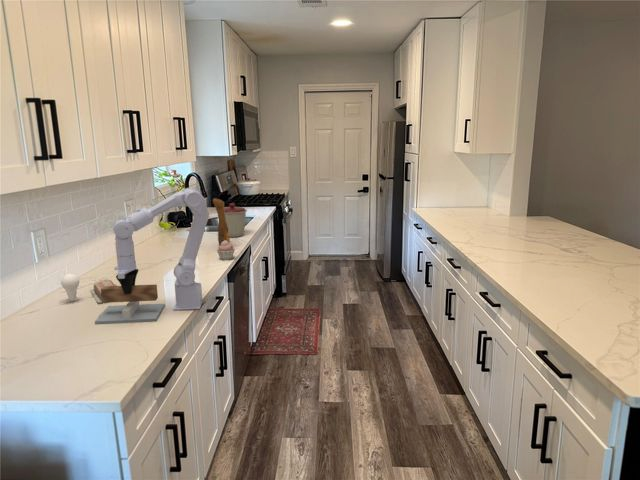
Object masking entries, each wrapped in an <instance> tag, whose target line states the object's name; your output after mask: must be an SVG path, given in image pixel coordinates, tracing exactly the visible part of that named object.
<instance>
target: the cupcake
mask: <svg viewBox="0 0 640 480" xmlns="http://www.w3.org/2000/svg"><path fill="white" fill-rule="evenodd" d="M216 251H217V254H218V256H219V259H220V261H229V260H233V258H234V254H235V251H236V249H235V248H234V246H233V243H231V242H230V243H228V241H226V240H225V241H223V242H222V243H221V245H220V246H219V245H218V249H217V250H216Z"/></svg>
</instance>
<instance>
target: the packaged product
mask: <svg viewBox="0 0 640 480" xmlns="http://www.w3.org/2000/svg"><path fill="white" fill-rule="evenodd" d="M103 286H118V285H117V284H116V283H115V284H114V282H113V281H112V279H104V280H100V281H99V282H95V283H94V284H93V289H89V290H90V293H91V295H92V296H93V298H94V300H95V301H96V303H97V305H98V304H99V305H104V304H103V303H102V297H101V288H102V287H103Z"/></svg>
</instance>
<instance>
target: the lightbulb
mask: <svg viewBox="0 0 640 480" xmlns="http://www.w3.org/2000/svg"><path fill="white" fill-rule="evenodd" d="M60 285H61V287H62V288H63V289H64V290H65V292H66V295H67V297H68V301H69V302H75V301H77V293H78V287H79V285H80V278H79V276H77V275H76V274H74V273H67V274H65V275H63V277H62V278H61V280H60Z"/></svg>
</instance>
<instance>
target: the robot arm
mask: <svg viewBox="0 0 640 480" xmlns="http://www.w3.org/2000/svg"><path fill="white" fill-rule="evenodd" d="M185 206H187V207H188V208H189V210H190V212H191V213H192V214H193V219H192V222H191V226H190V230H189V232H188V236H187V238H186V241H185V246H184V249H183V252H182V255H181V257H180V259H178V260H179V261H178V264H176V265H175V267H174V268H173V275H174V276H175V278H176V279H175V282H174V293H175V305H174V307H173V311H181V310H183V311H185V310H200V309H201V307H202V304H203V291H202V289H203V288H202V283H201V282H196V281H195V280H196V274H195V272H196V271H195V270H196V261H197V257H198V253H199V250H200V247H201V244H202V241H203V240H202V239H203V237H204V234H205V230H206V227H207V223H208V221H209V218H210V217H209V216H210V214H209V210H208V205H207V202H206V199H205V197H204V196H203V195H202V193H201V192H200V191H198V190H196V189H195V188H193V187H186V188H184V189H183V190H180V191H177V192H175V193H173V194H172V195H170V196H168V197H166V198H164V199H163V200H161V201H160V202H158V203H156V204H155V205H153V206H152V207H150V208H145V207H142V208H140V207H139V208H137V209H136V210H135V212H133V213H131V214H130V215H128V216H127V215H125V216H123V219H119V220H117V221H116V222H114V224H113V228H112V229H113V230H112V231H113V233H114V234H115V237H114V238H115V239H114V240H115V243H114V245H115V253H116V264H117V265H116V266H115V267H114V270H115V271H117V274H116V276H115V277H116V280H117V281H118V282H119V284H120V286H122V289H123V291H124V294H131V292H132V285H136V280H137V275H138V273H139V269H138V268H137V261H136V255H135V245H134V244H135V243H134V240H133V235H134V232H139V230H142V229H143V228H145V227H146V226H148V225H151V223H153V222H154V219H155V217H157V216H159V215H160V214H163V213H165V212H166V211H168V210H171V209H172V208H175V207H181V208H183V207H184V208H185Z"/></svg>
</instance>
